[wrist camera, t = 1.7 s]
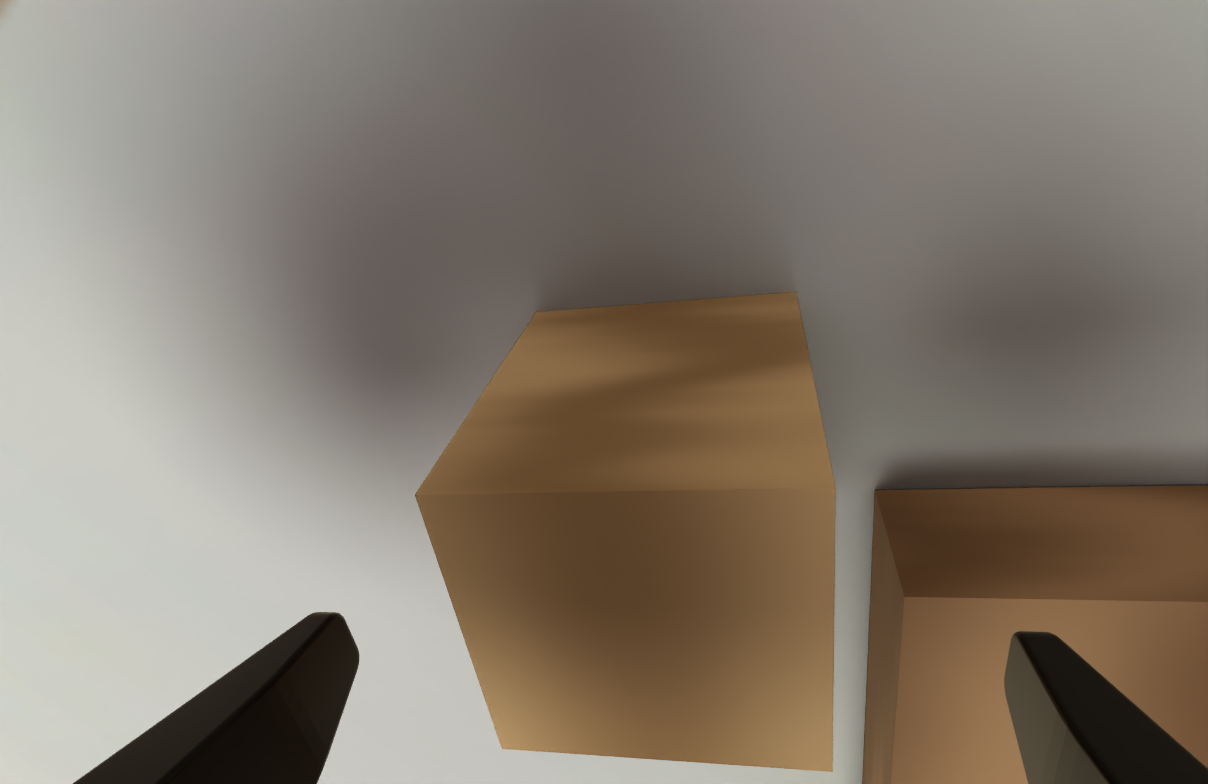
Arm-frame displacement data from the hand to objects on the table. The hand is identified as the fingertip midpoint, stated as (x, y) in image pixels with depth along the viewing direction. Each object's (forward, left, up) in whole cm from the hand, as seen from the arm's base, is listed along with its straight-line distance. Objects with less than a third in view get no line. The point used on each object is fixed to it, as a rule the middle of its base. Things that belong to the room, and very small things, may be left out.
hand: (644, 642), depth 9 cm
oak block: (0, 0, -6) cm, 6 cm away
